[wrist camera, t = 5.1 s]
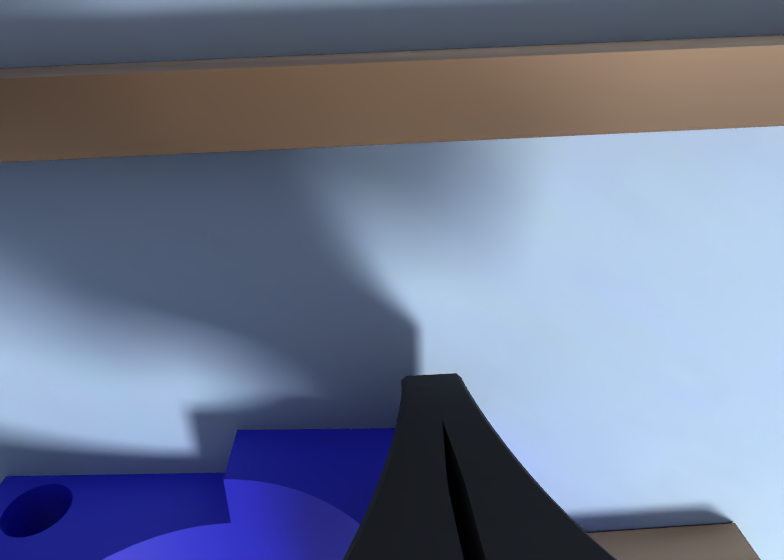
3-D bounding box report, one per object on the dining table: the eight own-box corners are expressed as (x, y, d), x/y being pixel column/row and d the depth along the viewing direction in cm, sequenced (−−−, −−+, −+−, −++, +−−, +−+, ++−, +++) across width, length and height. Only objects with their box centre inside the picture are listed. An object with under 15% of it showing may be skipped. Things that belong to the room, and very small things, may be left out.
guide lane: (724, 548, 16) (807, 677, 13) (-98, 603, 16) (-211, 752, 13) (949, 27, 9) (1243, 44, 6) (-531, 90, 9) (-1028, 144, 6)
